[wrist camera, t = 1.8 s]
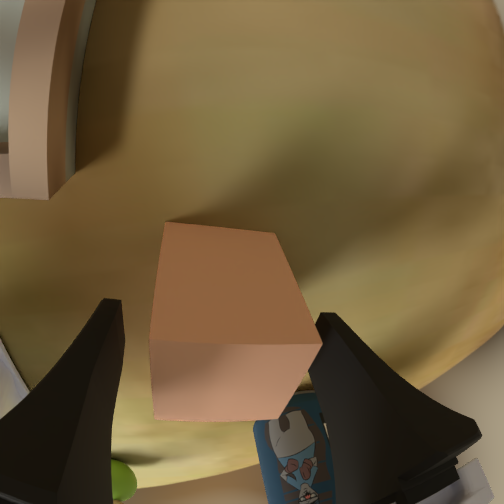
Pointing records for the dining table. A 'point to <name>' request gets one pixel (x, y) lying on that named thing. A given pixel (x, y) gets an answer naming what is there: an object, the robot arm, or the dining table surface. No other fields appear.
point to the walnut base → (40, 93)
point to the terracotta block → (226, 326)
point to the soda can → (296, 454)
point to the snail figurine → (122, 482)
